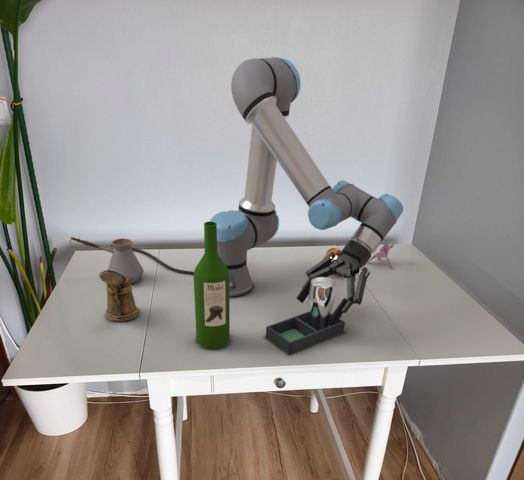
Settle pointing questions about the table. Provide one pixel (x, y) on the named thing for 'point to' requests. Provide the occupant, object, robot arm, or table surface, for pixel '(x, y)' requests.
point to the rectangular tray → (296, 340)
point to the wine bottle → (211, 294)
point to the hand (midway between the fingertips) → (315, 310)
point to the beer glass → (321, 301)
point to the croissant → (336, 252)
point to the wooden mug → (119, 297)
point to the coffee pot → (121, 258)
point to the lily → (383, 252)
